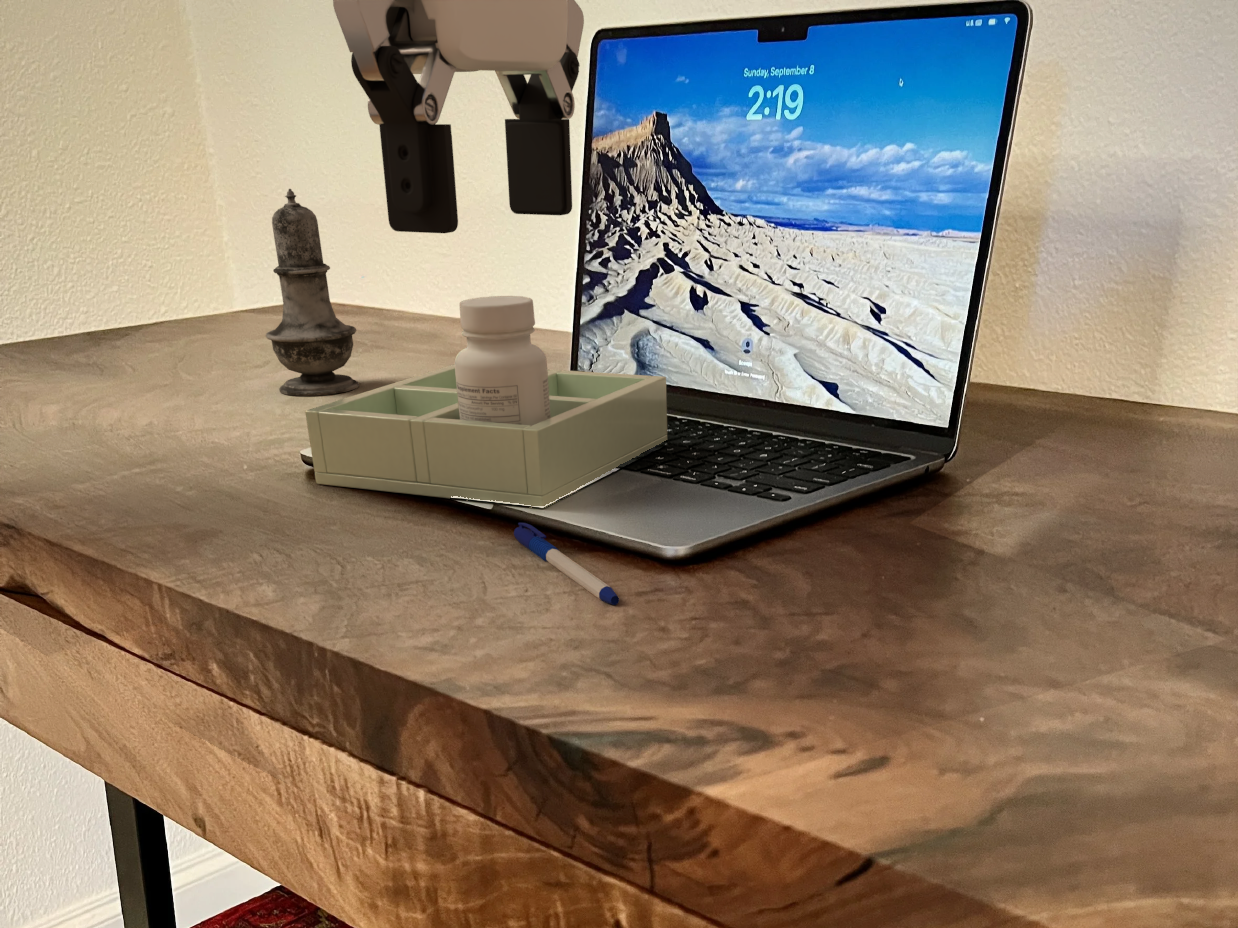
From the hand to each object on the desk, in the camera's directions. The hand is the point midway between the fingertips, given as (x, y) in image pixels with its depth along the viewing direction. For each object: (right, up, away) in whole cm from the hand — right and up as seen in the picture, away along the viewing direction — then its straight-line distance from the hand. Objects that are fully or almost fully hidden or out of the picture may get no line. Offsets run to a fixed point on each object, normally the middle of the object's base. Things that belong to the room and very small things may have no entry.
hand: (486, 222), depth 61 cm
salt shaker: (-15, +3, +30) cm, 33 cm away
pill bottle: (0, -10, +6) cm, 11 cm away
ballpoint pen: (+4, -17, -6) cm, 19 cm away
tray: (-1, -8, +10) cm, 13 cm away
